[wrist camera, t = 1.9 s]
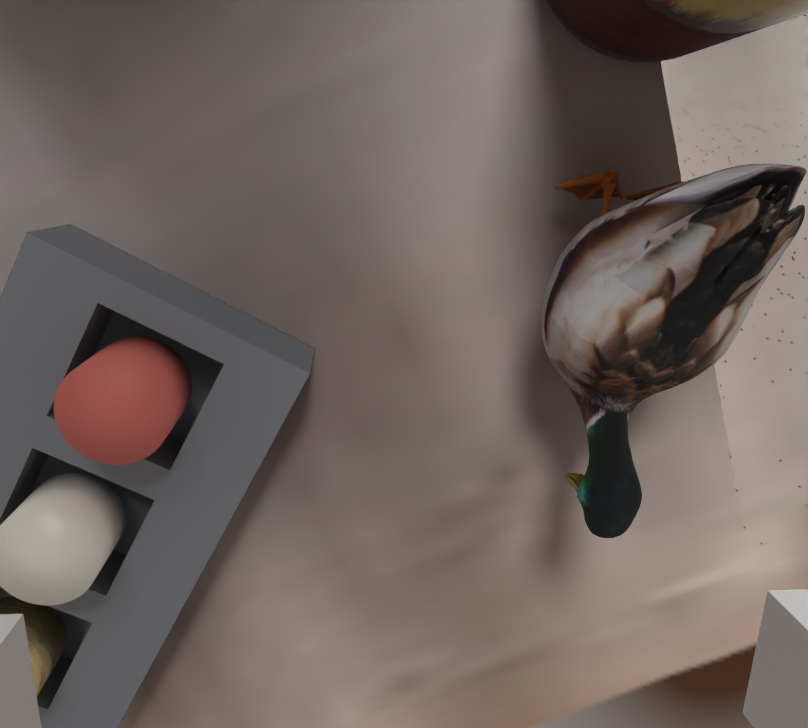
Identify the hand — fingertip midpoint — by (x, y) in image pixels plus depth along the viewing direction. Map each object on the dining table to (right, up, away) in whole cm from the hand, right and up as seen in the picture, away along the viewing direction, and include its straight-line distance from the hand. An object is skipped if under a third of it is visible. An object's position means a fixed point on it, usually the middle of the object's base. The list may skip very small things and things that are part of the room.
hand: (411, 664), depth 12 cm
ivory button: (-15, -1, +17) cm, 23 cm away
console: (-15, -1, +21) cm, 25 cm away
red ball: (-11, +4, +16) cm, 20 cm away
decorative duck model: (+8, +5, +21) cm, 23 cm away
